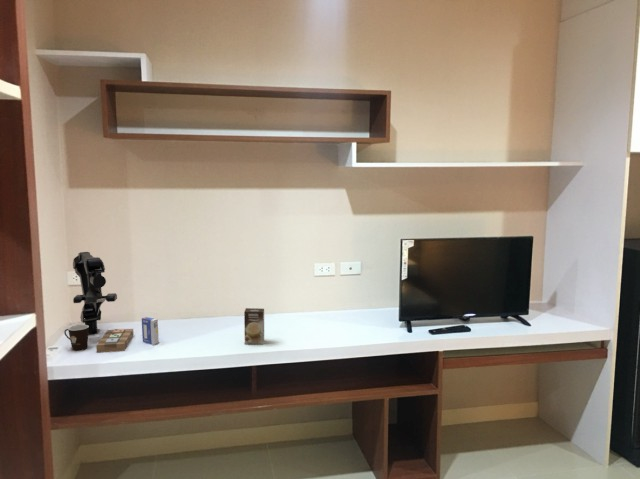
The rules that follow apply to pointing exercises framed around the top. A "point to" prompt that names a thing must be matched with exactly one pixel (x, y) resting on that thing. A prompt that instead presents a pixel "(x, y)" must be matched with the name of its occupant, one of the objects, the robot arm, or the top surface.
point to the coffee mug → (78, 337)
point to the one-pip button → (112, 340)
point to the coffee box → (254, 326)
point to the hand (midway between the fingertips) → (96, 315)
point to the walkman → (150, 330)
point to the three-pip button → (115, 335)
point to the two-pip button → (118, 331)
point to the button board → (115, 347)
